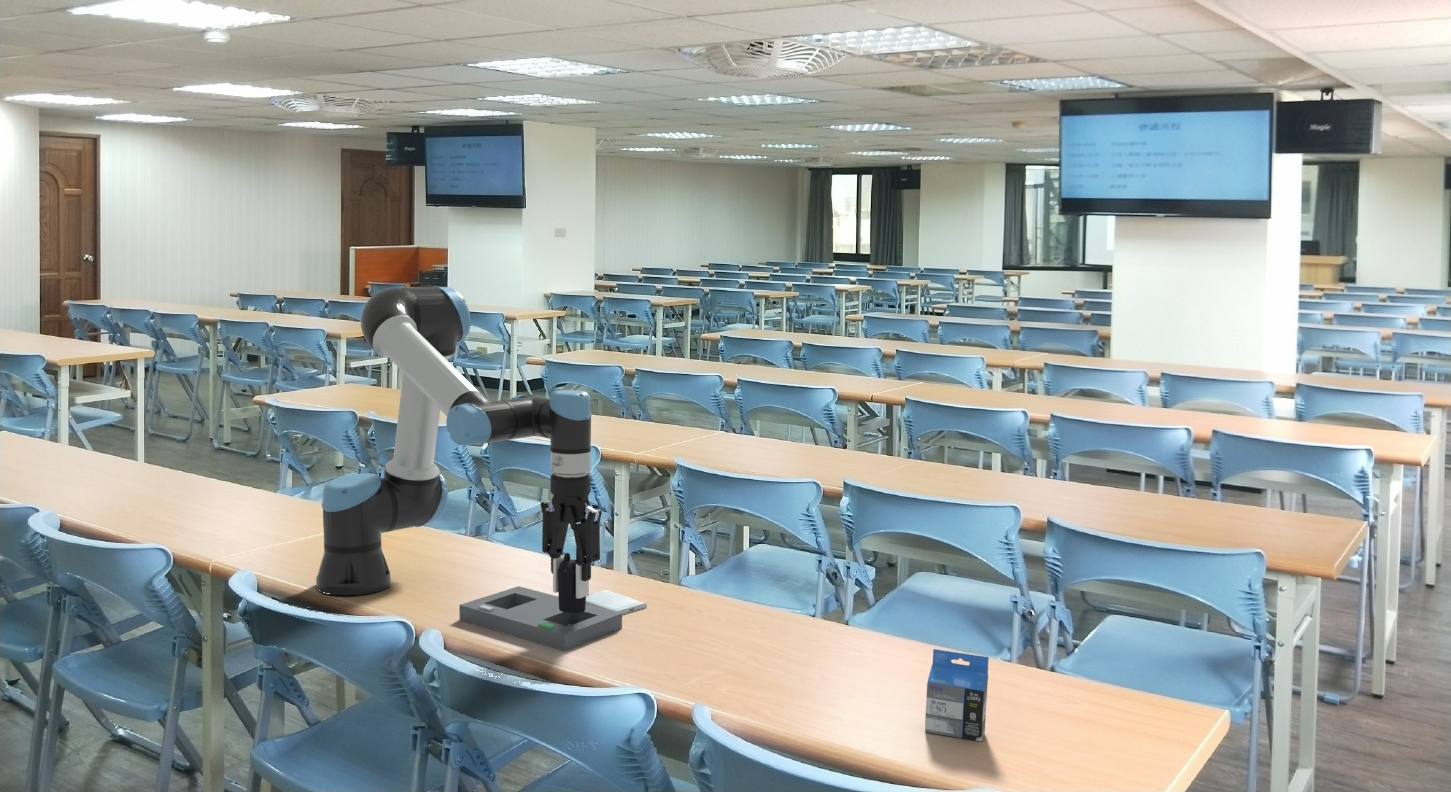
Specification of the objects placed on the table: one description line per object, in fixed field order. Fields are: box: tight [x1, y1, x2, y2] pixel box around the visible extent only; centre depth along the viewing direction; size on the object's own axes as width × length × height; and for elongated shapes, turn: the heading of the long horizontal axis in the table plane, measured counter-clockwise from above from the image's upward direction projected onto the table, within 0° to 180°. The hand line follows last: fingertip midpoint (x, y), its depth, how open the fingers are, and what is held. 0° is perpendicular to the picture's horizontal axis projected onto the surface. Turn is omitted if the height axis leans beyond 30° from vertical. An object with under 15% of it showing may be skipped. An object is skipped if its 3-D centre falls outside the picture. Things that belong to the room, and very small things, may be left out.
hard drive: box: [586, 589, 648, 615], centre depth 246 cm, size 2×8×12 cm
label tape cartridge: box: [924, 648, 990, 742], centre depth 185 cm, size 9×4×12 cm, turn 69°
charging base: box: [459, 585, 623, 652], centre depth 233 cm, size 28×16×3 cm, turn 54°
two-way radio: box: [557, 546, 586, 613], centre depth 226 cm, size 6×4×15 cm
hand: (570, 593), depth 227 cm, fingers closed on two-way radio, 5 cm apart
